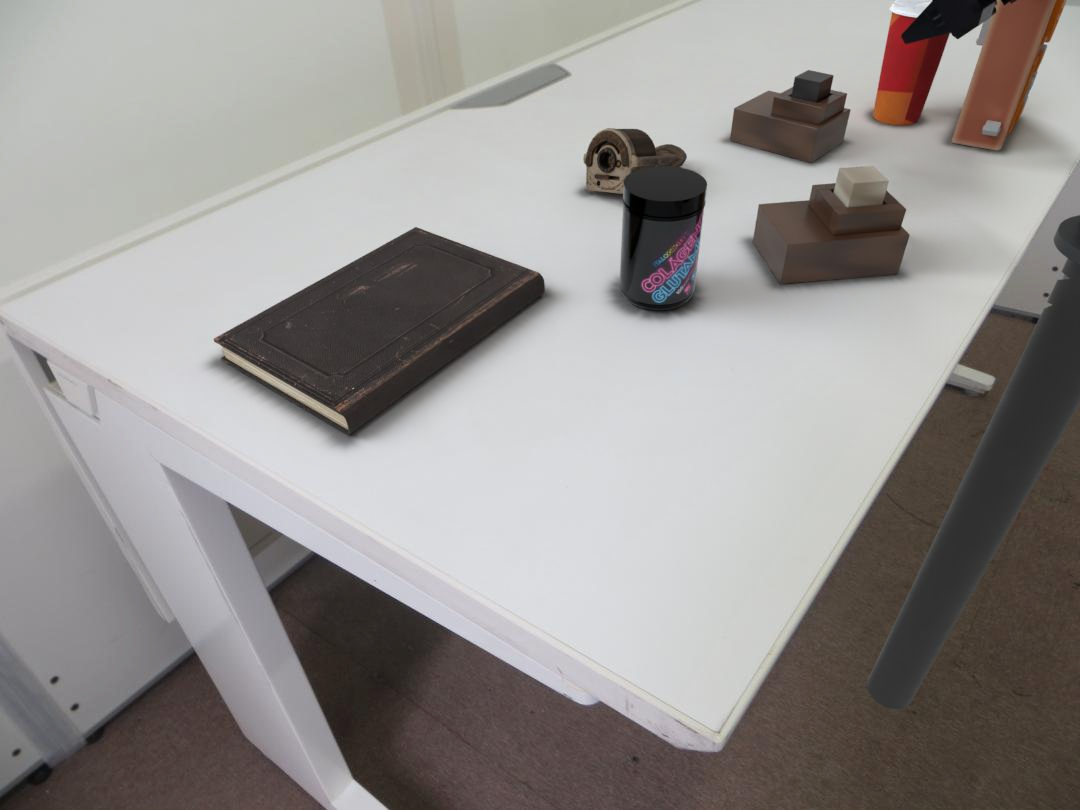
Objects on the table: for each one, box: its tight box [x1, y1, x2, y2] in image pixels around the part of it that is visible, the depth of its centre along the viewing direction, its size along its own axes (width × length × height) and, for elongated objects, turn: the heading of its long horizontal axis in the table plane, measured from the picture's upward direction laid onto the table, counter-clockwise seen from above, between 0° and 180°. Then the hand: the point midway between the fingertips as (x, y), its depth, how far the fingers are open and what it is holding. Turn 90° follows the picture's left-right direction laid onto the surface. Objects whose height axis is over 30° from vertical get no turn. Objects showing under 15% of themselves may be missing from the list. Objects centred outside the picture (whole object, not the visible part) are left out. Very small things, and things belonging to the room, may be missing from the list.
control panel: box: [951, 0, 1068, 152], centre depth 87 cm, size 21×7×15 cm
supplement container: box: [619, 166, 708, 312], centre depth 65 cm, size 7×7×10 cm
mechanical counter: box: [582, 127, 688, 195], centre depth 83 cm, size 7×13×10 cm
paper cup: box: [872, 0, 951, 126], centre depth 93 cm, size 8×8×14 cm
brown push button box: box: [752, 182, 911, 285], centre depth 70 cm, size 11×8×6 cm
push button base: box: [729, 86, 851, 164], centre depth 91 cm, size 11×8×6 cm
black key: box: [791, 69, 834, 103], centre depth 88 cm, size 3×3×2 cm
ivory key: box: [834, 165, 890, 208], centre depth 67 cm, size 3×3×2 cm
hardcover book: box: [213, 226, 546, 435], centre depth 64 cm, size 16×23×2 cm
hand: (904, 39), depth 78 cm, fingers closed
